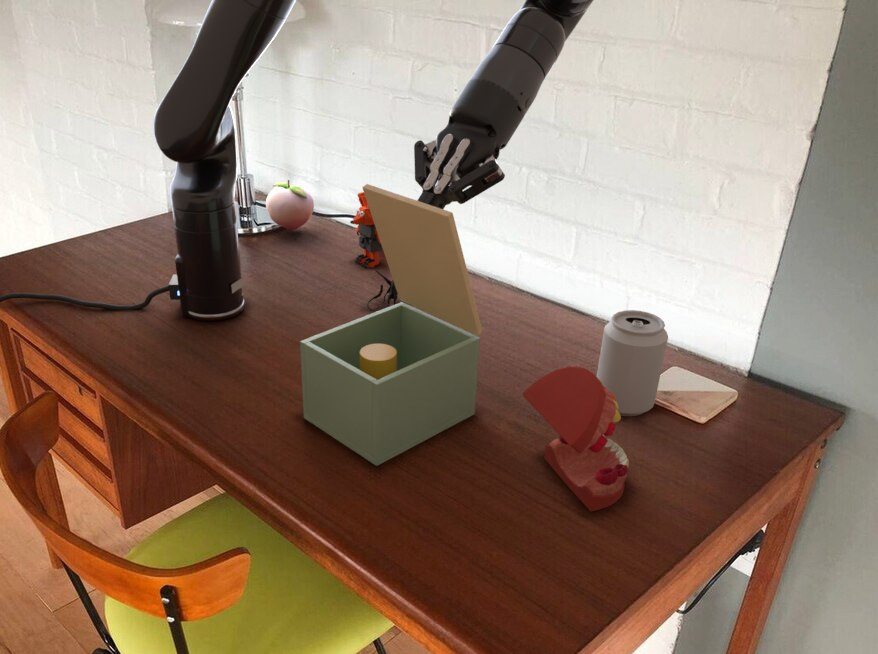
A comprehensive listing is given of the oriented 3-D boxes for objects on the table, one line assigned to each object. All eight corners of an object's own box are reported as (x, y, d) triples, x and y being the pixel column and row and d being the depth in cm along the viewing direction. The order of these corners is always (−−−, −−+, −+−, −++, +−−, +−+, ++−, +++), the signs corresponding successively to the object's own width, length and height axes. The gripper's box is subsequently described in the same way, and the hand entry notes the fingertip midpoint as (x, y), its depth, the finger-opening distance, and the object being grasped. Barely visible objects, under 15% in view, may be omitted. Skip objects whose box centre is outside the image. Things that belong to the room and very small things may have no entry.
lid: (447, 216, 86) (452, 212, 87) (361, 187, 95) (366, 183, 96) (478, 336, 98) (483, 332, 99) (399, 300, 107) (403, 296, 107)
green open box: (376, 466, 95) (377, 384, 89) (303, 418, 103) (299, 341, 98) (474, 414, 104) (480, 337, 99) (400, 374, 113) (401, 301, 107)
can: (654, 394, 108) (671, 311, 102) (651, 424, 102) (669, 337, 96) (595, 385, 110) (609, 302, 104) (589, 413, 104) (603, 328, 98)
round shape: (360, 426, 100) (360, 361, 96) (359, 407, 104) (359, 343, 100) (396, 425, 100) (398, 360, 96) (394, 406, 104) (395, 343, 100)
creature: (415, 323, 129) (419, 292, 135) (416, 295, 125) (419, 265, 131) (365, 321, 130) (370, 290, 135) (364, 293, 126) (370, 263, 132)
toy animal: (338, 260, 148) (337, 194, 142) (363, 253, 151) (363, 188, 145) (364, 274, 143) (364, 206, 137) (389, 267, 145) (390, 200, 139)
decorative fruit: (257, 232, 161) (254, 181, 155) (284, 220, 166) (281, 171, 161) (295, 242, 156) (293, 190, 151) (322, 229, 162) (320, 179, 157)
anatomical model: (659, 491, 89) (632, 388, 81) (597, 528, 89) (564, 429, 80) (602, 440, 98) (573, 343, 90) (546, 474, 97) (511, 379, 89)
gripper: (440, 68, 96) (361, 193, 95) (530, 85, 88) (444, 223, 87) (468, 108, 102) (394, 227, 101) (555, 128, 93) (475, 257, 93)
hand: (417, 225), depth 94 cm, fingers closed
